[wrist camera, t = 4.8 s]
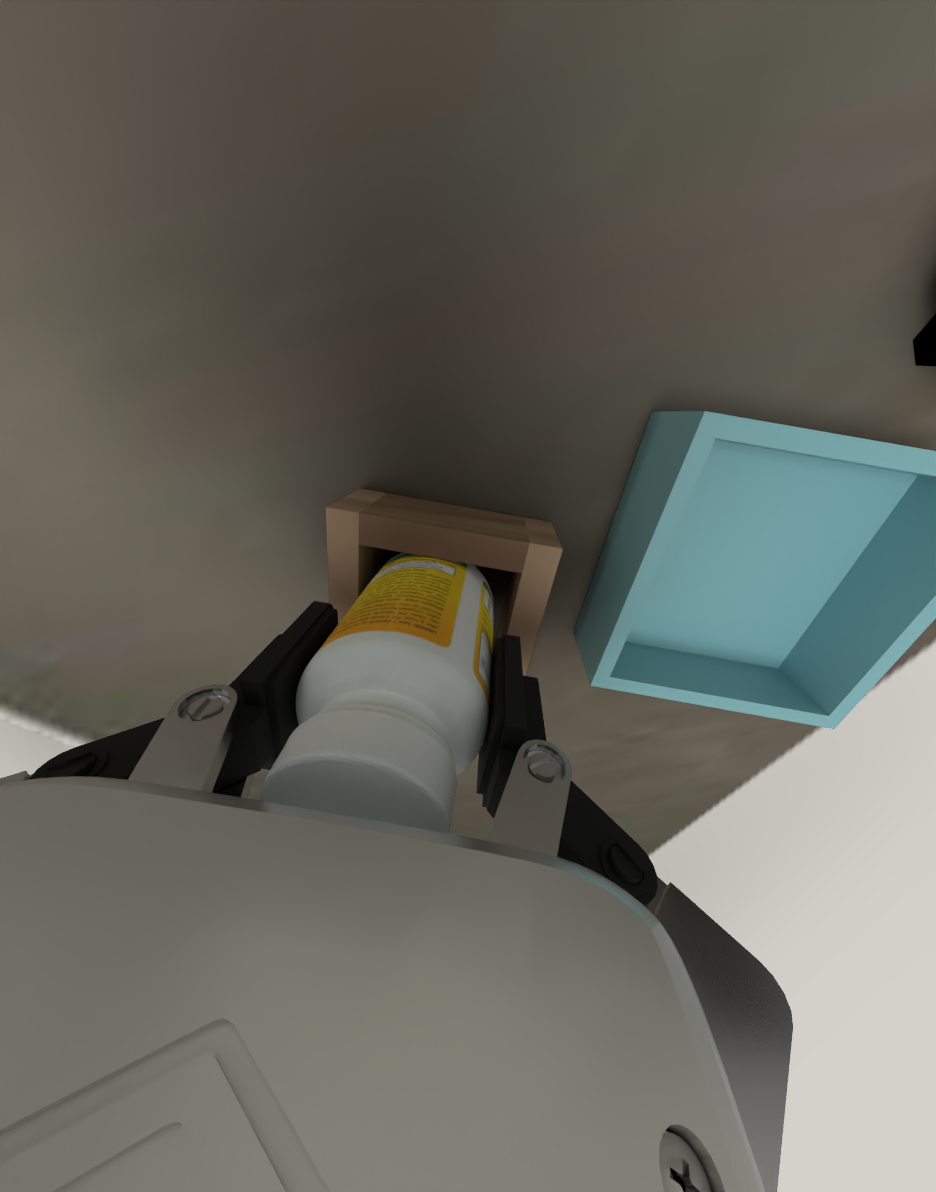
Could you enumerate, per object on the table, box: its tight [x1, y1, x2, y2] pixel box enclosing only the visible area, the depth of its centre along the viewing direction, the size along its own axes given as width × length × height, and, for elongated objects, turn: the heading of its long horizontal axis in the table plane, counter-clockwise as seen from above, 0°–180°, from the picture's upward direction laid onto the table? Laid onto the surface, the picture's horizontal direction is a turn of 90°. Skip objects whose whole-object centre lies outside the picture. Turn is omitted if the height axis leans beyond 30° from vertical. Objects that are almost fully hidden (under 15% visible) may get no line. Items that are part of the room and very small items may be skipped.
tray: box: [573, 411, 936, 729], centre depth 14 cm, size 10×10×4 cm
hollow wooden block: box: [326, 488, 563, 676], centre depth 16 cm, size 9×9×4 cm
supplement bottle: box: [261, 552, 494, 834], centre depth 12 cm, size 5×5×10 cm
